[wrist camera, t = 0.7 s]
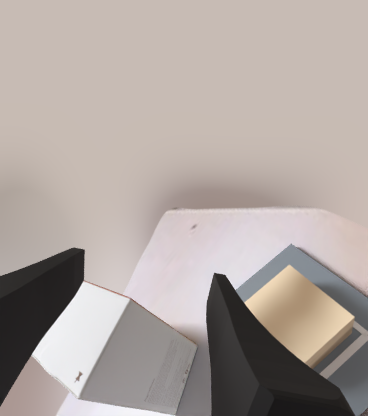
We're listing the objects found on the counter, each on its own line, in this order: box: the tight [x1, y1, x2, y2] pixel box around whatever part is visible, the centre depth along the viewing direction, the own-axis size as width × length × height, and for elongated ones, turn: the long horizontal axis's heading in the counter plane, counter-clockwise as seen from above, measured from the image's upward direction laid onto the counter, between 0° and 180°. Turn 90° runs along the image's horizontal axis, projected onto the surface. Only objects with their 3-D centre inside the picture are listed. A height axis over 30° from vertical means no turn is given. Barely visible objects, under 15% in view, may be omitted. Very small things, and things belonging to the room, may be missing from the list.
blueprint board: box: [235, 244, 368, 416], centre depth 21 cm, size 13×13×1 cm
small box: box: [32, 281, 198, 415], centre depth 21 cm, size 8×6×13 cm
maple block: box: [244, 265, 355, 369], centre depth 20 cm, size 6×6×4 cm
